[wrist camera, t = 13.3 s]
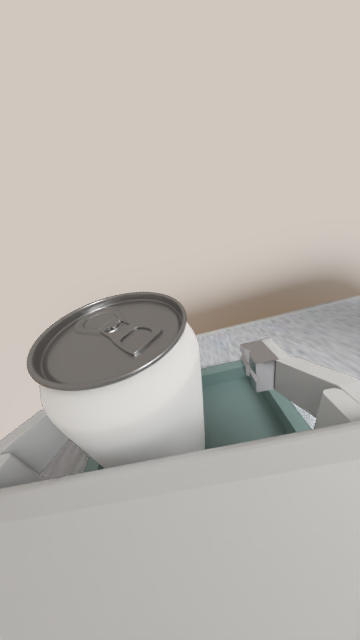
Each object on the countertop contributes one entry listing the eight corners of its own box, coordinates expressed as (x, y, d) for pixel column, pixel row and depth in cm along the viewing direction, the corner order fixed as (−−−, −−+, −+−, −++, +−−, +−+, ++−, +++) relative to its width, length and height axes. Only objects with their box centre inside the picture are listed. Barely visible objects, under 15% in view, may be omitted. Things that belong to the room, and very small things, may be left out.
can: (160, 392, 17) (125, 282, 10) (219, 429, 13) (226, 300, 7) (107, 459, 12) (-15, 346, 6) (173, 538, 9) (68, 486, 2)
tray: (256, 373, 18) (256, 356, 17) (380, 558, 8) (399, 544, 7) (123, 401, 19) (115, 387, 18) (65, 606, 8) (35, 601, 7)
